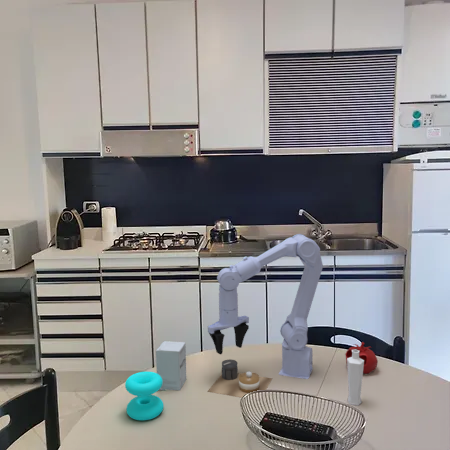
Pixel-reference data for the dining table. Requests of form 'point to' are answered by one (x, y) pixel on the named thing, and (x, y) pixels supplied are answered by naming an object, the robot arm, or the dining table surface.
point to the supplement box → (171, 364)
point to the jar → (248, 382)
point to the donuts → (144, 395)
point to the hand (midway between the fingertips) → (229, 349)
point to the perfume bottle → (355, 377)
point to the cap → (229, 369)
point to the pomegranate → (364, 357)
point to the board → (235, 386)
